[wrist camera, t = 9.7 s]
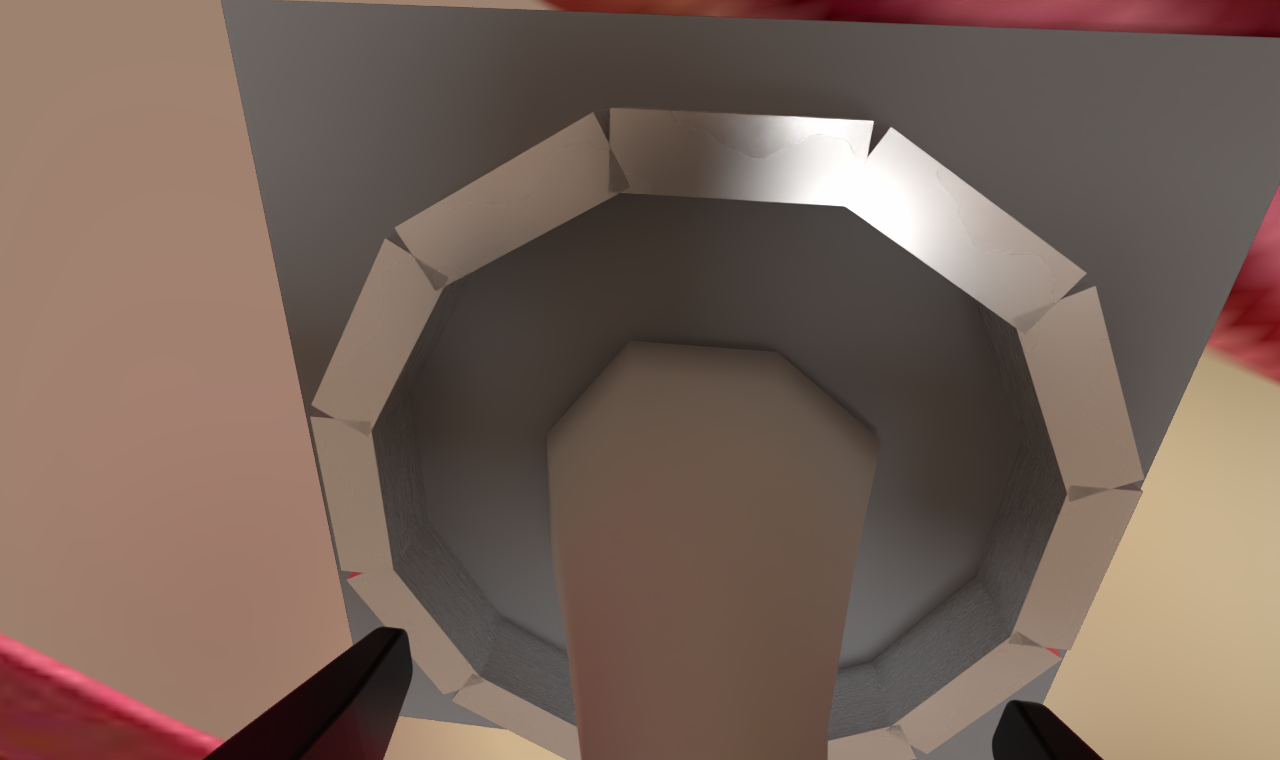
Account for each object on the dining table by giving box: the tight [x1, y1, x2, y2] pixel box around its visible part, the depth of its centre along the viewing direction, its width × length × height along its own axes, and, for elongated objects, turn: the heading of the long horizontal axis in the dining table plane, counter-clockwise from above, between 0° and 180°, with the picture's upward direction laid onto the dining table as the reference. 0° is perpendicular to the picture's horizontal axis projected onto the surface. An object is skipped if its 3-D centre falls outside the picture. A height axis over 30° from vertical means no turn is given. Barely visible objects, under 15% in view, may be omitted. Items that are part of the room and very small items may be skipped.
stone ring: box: [310, 107, 1144, 760], centre depth 13 cm, size 15×15×2 cm
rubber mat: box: [221, 0, 1280, 760], centre depth 14 cm, size 18×18×1 cm
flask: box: [546, 341, 880, 760], centre depth 9 cm, size 7×7×10 cm
